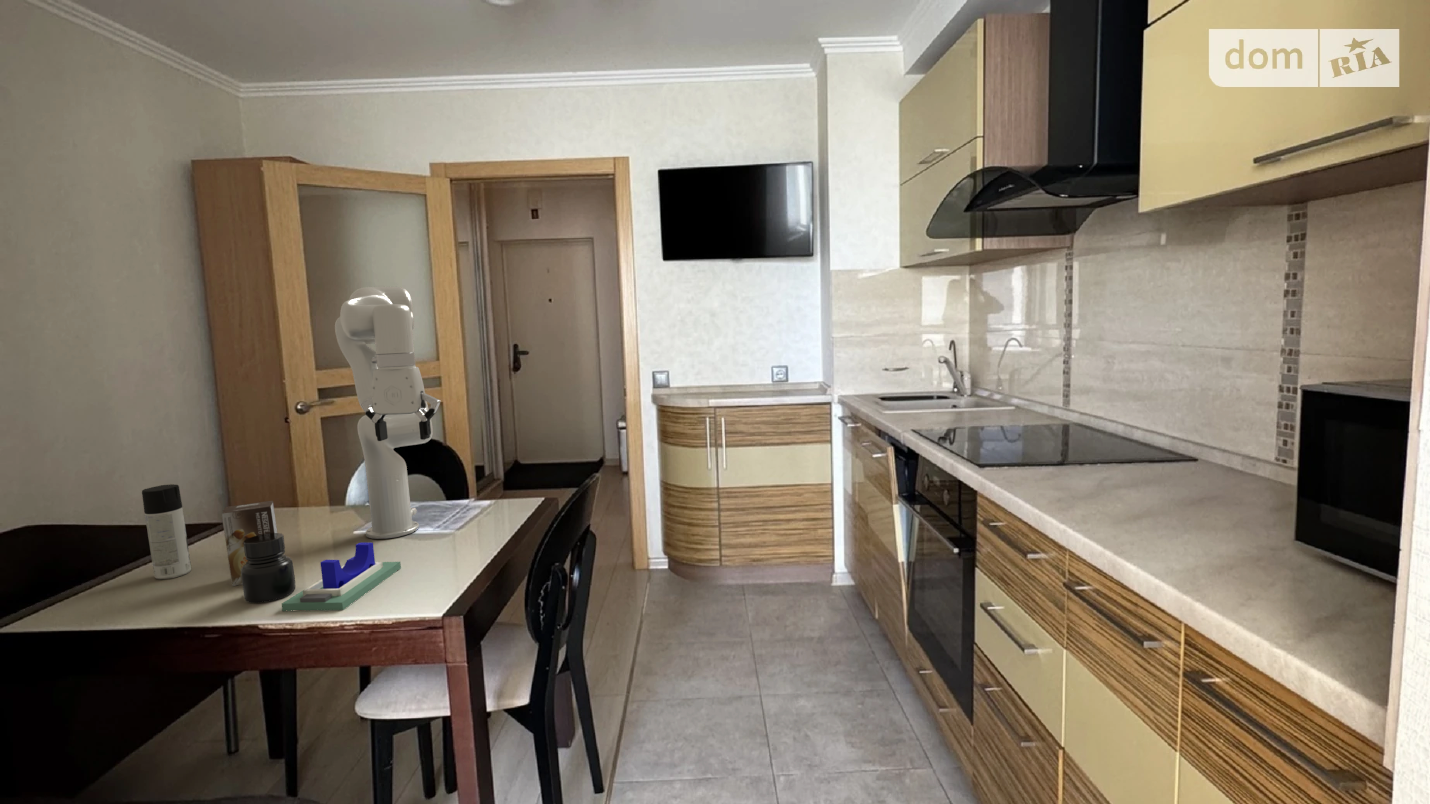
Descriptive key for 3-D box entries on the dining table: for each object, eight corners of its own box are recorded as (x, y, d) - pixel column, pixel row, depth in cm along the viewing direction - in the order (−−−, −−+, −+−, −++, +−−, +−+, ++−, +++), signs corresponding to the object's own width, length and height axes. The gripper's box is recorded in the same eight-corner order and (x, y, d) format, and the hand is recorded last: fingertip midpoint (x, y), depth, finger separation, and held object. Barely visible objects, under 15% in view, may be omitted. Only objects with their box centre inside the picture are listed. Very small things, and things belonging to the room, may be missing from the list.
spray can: (198, 570, 159) (186, 484, 156) (167, 581, 152) (154, 491, 150) (178, 568, 161) (166, 483, 158) (146, 578, 155) (133, 490, 152)
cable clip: (356, 569, 151) (353, 542, 150) (375, 569, 150) (372, 542, 149) (316, 591, 139) (313, 562, 138) (337, 591, 138) (334, 562, 137)
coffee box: (283, 569, 157) (275, 499, 155) (281, 578, 152) (272, 505, 150) (234, 577, 153) (225, 506, 151) (230, 587, 147) (220, 513, 145)
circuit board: (348, 569, 155) (347, 557, 155) (400, 568, 155) (399, 556, 154) (282, 611, 134) (280, 597, 133) (343, 610, 133) (341, 596, 132)
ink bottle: (302, 583, 148) (296, 528, 146) (292, 599, 139) (285, 541, 138) (249, 591, 145) (242, 535, 143) (235, 607, 136) (227, 548, 135)
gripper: (347, 364, 149) (356, 443, 151) (427, 361, 148) (434, 441, 150) (367, 362, 156) (375, 437, 158) (442, 359, 155) (449, 435, 157)
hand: (404, 439), depth 154 cm, fingers open, 9 cm apart
